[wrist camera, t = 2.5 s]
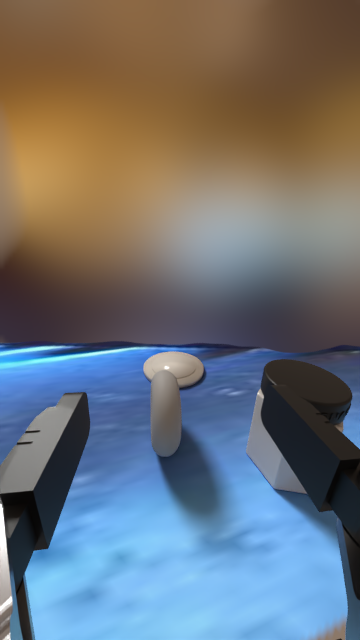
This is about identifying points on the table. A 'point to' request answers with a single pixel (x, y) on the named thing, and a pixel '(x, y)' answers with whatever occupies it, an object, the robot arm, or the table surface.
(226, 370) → the table surface
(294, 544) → the table surface
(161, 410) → the donut
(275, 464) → the jar
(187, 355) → the plate
